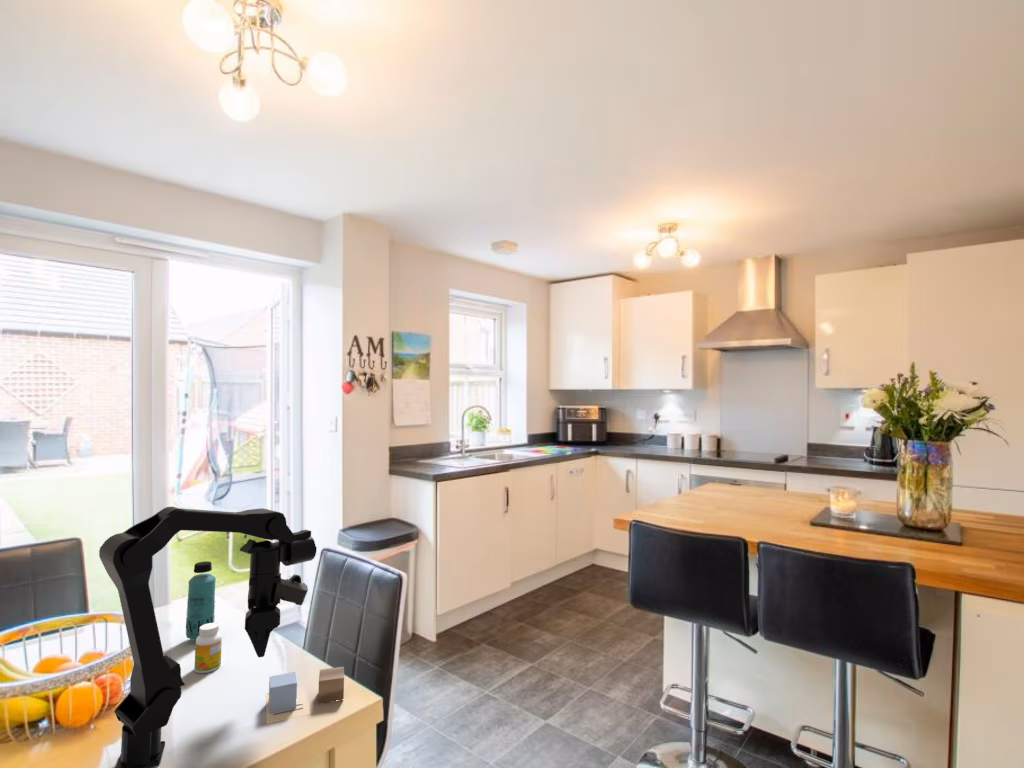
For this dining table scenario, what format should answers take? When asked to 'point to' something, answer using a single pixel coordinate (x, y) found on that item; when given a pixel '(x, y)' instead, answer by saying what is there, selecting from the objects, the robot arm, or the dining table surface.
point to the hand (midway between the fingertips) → (261, 647)
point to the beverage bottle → (200, 600)
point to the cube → (282, 692)
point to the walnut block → (331, 685)
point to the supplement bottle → (208, 648)
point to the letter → (286, 712)
